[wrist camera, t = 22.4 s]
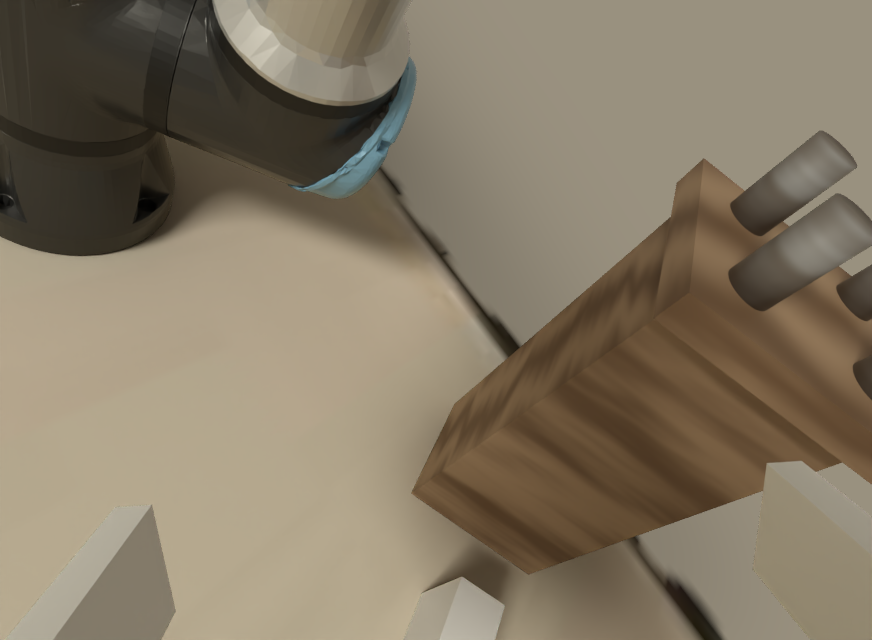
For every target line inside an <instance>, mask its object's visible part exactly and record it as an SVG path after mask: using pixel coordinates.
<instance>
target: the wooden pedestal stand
mask: <svg viewBox="0 0 872 640" xmlns="http://www.w3.org/2000/svg"><path fill="white" fill-rule="evenodd" d="M856 168H857V164H856V162H855V160H854V158H853V157H852V156H851V155H850V153H849V152H848V151H847V150H846V149H845V148H844V147H843V146H842V145H841V144H840V143H839V142H838V141H837V140H836V139H834V138H833V137H832V136H830V135H829V134H827V133H826V132H824V131H819V132H817V133H816V134H815V135H814V136H812V137H811V138H810V139H809V140H807V141H806V142H805V143H804V144H803V145H801V146H800V147H799V148H797V149H796V150H795V151H794V152H793V153H791V154H790V155H789V156H788V157H786V158H785V159H784V160H783V161H781V162H780V163H779V164H778V165H777V166H775V167H774V168H773V169H772V170H770V171H769V172H768V173H767V174H766V175H764V176H763V177H762V178H760V179H759V180H758V181H757V182H756V183H754V184H753V185H752V186H751V187H749V188H748V189H747V190H746V191H744V190H743V189H742V188H740V187H739V186H738V185H737V184H735V183H734V182H733V181H732V180H730V179H729V178H728V177H727V176H725V175H724V174H723V173H722V172H720V171H719V170H718V169H717V168H715V167H714V166H713V165H712V164H710V163H709V162H708V161H707V160H705V159H703V160H702V161H701V162H699V163H698V164H697V165H696V166H695V167H694V168H693V169H692V170H691V171H690V172H688V173H687V174H686V175H685V176H684V177H683V178H682V179H681V180H680V181H679V182H677V185H676V191H675V197H674V202H673V208H672V214H671V217H670V218H669V219H668V220H667V221H666V222H664V223H663V224H662V225H661V226H660V227H658V228H657V229H656V230H655V231H654V232H653V233H652V234H650V235H649V236H648V237H647V238H646V239H645V240H644V241H642V242H641V243H640V244H639V245H638V246H637V247H636V248H634V249H633V250H632V251H631V252H630V253H628V254H627V255H626V256H625V257H624V258H623V259H622V260H620V261H619V262H618V263H617V264H616V265H615V266H614V267H612V268H611V269H610V270H609V271H608V272H607V273H605V274H604V275H603V276H602V277H601V278H600V279H599V280H597V281H596V282H595V283H594V284H593V285H592V286H590V288H588V289H587V290H586V291H585V292H584V293H582V294H581V295H580V296H579V297H578V298H577V299H575V300H574V301H573V302H572V303H571V304H570V305H569V306H567V307H566V308H565V309H564V310H563V311H562V312H560V313H559V314H558V315H557V316H556V317H555V318H554V319H552V320H551V321H550V322H549V323H548V324H547V325H545V326H544V327H543V328H542V329H541V330H540V331H539V332H537V333H536V334H535V335H534V336H533V337H532V338H531V339H529V340H528V341H527V342H526V343H525V344H524V345H522V346H521V347H520V348H519V349H518V350H517V351H515V352H514V353H513V354H512V355H511V356H510V357H509V358H507V359H506V360H505V361H504V362H503V363H502V364H500V365H499V366H498V367H497V368H496V369H495V370H494V371H492V372H491V373H490V374H489V375H488V376H487V377H485V378H484V379H483V380H482V381H481V382H480V383H479V384H477V385H476V386H475V387H474V388H473V389H472V390H470V391H469V392H468V393H467V394H466V395H465V396H464V397H462V398H461V399H460V400H459V401H458V402H457V403H455V404H454V406H453V408H452V410H451V413H450V415H449V417H448V419H447V421H446V423H445V425H444V427H443V429H442V431H441V433H440V435H439V437H438V439H437V441H436V443H435V445H434V447H433V450H432V452H431V454H430V456H429V458H428V460H427V462H426V464H425V466H424V468H423V470H422V472H421V474H420V476H419V478H418V480H417V482H416V484H415V486H414V489H413V491H412V494H413V495H415V496H416V497H417V498H419V499H420V500H422V501H423V502H425V503H426V504H428V505H429V506H430V507H432V508H433V509H435V510H436V511H438V512H439V513H441V514H442V515H443V516H445V517H446V518H448V519H449V520H451V521H452V522H454V523H455V524H456V525H458V526H459V527H461V528H462V529H464V530H465V531H467V532H468V533H469V534H471V535H472V536H474V537H475V538H477V539H478V540H480V541H481V542H483V543H484V544H485V545H487V546H488V547H490V548H491V549H493V550H494V551H496V552H497V553H498V554H500V555H501V556H503V557H504V558H506V559H507V560H509V561H510V562H511V563H513V564H514V565H516V566H517V567H519V568H520V569H522V570H523V571H524V572H526V573H527V574H531V573H534V572H536V571H539V570H542V569H545V568H548V567H550V566H553V565H556V564H559V563H562V562H564V561H567V560H570V559H573V558H576V557H578V556H581V555H584V554H587V553H590V552H593V551H595V550H598V549H601V548H604V547H607V546H609V545H612V544H615V543H618V542H621V541H623V540H626V539H629V538H632V537H635V536H637V535H640V534H643V533H646V532H649V531H651V530H654V529H657V528H660V527H662V526H665V525H668V524H671V523H674V522H677V521H679V520H682V519H685V518H688V517H691V516H693V515H696V514H699V513H702V512H704V511H707V510H710V509H713V508H716V507H718V506H721V505H724V504H727V503H730V502H733V501H735V500H738V499H741V498H744V497H747V496H749V495H752V494H755V493H758V492H761V491H763V488H764V480H765V473H766V465H767V463H777V462H792V461H802V462H804V463H805V464H806V465H807V466H809V467H810V468H811V469H813V470H814V471H815V472H817V471H819V470H822V469H825V468H828V467H830V466H833V465H836V464H839V463H842V462H843V463H844V464H845V465H847V466H848V467H849V468H851V469H852V470H853V471H855V472H856V473H857V474H859V475H860V476H861V477H863V478H864V479H865V480H866V481H868V482H869V483H870V484H872V265H870V266H869V267H867V268H865V269H864V270H862V271H860V272H859V273H857V274H855V275H853V276H850V275H849V274H848V273H847V272H845V271H844V270H843V269H842V268H840V267H839V265H841V264H843V263H844V262H846V261H848V260H849V259H851V258H852V257H854V256H856V255H857V254H859V253H860V252H862V251H864V250H866V249H867V248H869V247H870V246H872V221H871V220H870V218H869V217H868V216H867V215H866V214H865V213H864V212H863V211H862V210H861V209H860V208H859V207H858V206H857V205H856V204H855V203H854V202H852V201H851V200H850V199H848V198H847V197H845V196H844V195H841V194H835V195H834V196H832V197H831V198H829V199H828V200H826V201H825V202H824V203H822V204H821V205H819V206H818V207H816V208H815V209H814V210H812V211H811V212H810V213H808V214H807V215H806V216H804V217H802V218H801V219H800V220H798V221H797V222H796V223H794V224H793V225H791V226H790V227H789V226H788V225H787V224H785V223H784V222H783V221H784V220H785V219H786V218H788V217H789V216H791V215H792V214H793V213H795V212H796V211H797V210H799V209H800V208H802V207H803V206H804V205H806V204H807V203H809V202H810V201H811V200H813V199H814V198H815V197H817V196H818V195H820V194H821V193H822V192H824V191H825V190H827V189H828V188H829V187H831V186H832V185H833V184H835V183H836V182H838V181H839V180H840V179H842V178H843V177H844V176H846V175H847V174H849V173H850V172H851V171H853V170H854V169H856Z"/></svg>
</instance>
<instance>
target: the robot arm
mask: <svg viewBox="0 0 872 640" xmlns="http://www.w3.org/2000/svg"><path fill="white" fill-rule="evenodd" d="M411 2H412V0H0V236H1V237H3V238H5V239H7V240H10V241H12V242H14V243H17V244H20V245H22V246H26V247H29V248H32V249H36V250H40V251H45V252H50V253H57V254H66V255H93V254H102V253H108V252H113V251H117V250H121V249H124V248H127V247H130V246H132V245H135V244H137V243H139V242H141V241H143V240H144V239H146V238H147V237H149V236H150V235H152V234H153V233H154V232H155V231H156V230H157V229H158V228H159V227H160V226H161V225H162V224H163V222H164V221H165V219H166V218H167V216H168V214H169V211H170V208H171V203H172V198H173V193H174V185H175V180H174V171H173V166H172V163H171V159H170V156H169V152H168V149H167V145H166V142H165V138H164V135H167V136H169V137H172V138H174V139H177V140H179V141H182V142H184V143H187V144H189V145H192V146H194V147H197V148H199V149H202V150H205V151H207V152H210V153H212V154H215V155H217V156H220V157H222V158H225V159H227V160H230V161H232V162H235V163H238V164H240V165H242V166H245V167H247V168H250V169H252V170H255V171H257V172H259V173H262V174H264V175H267V176H269V177H272V178H274V179H276V180H279V181H281V182H284V183H286V184H288V185H289V186H290V187H292V188H294V189H296V190H299V191H310V192H313V193H316V194H319V195H322V196H325V197H328V198H332V199H342V198H346V197H349V196H351V195H353V194H355V193H356V192H358V191H359V190H360V189H361V188H362V187H363V186H365V185H366V184H367V183H368V181H369V180H370V179H371V178H372V177H373V176H374V174H375V173H376V172H377V170H378V169H379V168H380V166H381V165H382V163H383V162H384V160H385V158H386V156H387V152H388V148H389V146H390V145H391V144H392V143H394V142H395V140H396V138H397V136H398V135H399V133H400V131H401V128H402V126H403V124H404V122H405V119H406V117H407V114H408V111H409V108H410V105H411V102H412V99H413V95H414V90H415V86H416V67H415V64H414V62H413V61H412V59H411V58H410V57H409V51H410V50H409V48H410V41H409V32H408V28H407V24H406V21H405V18H404V15H405V13H406V11H407V9H408V7H409V6H410V4H411ZM163 134H164V135H163ZM753 570H754V572H755V573H756V574H757V575H758V576H759V577H760V579H761V580H762V581H763V583H764V584H765V585H766V586H767V587H768V589H769V590H770V591H771V592H772V594H773V595H774V596H775V597H776V598H777V600H778V601H779V602H780V603H781V605H782V606H783V607H784V608H785V610H786V611H787V612H788V613H789V614H790V616H791V617H792V618H793V619H794V621H795V622H796V623H797V624H798V625H799V627H800V628H801V629H802V630H803V632H804V633H805V634H806V635H807V636H808V638H809V639H810V640H872V516H870V515H869V514H868V513H867V512H865V511H864V510H863V509H862V508H860V507H859V506H858V505H857V504H855V503H854V502H852V500H850V499H849V498H848V497H846V496H845V495H844V494H843V493H841V492H840V491H839V490H838V489H836V488H835V487H834V486H833V485H831V484H830V483H829V482H827V481H826V480H825V479H824V478H823V477H821V476H820V475H819V474H817V473H816V472H815V471H814V470H813V469H811V468H810V467H809V466H807V465H806V464H805V463H804V462H802V461H792V462H777V463H767V465H766V473H765V480H764V488H763V496H762V503H761V511H760V519H759V525H758V533H757V541H756V548H755V556H754V563H753ZM175 611H176V610H175V606H174V601H173V597H172V592H171V588H170V584H169V579H168V575H167V570H166V566H165V561H164V557H163V552H162V548H161V543H160V539H159V534H158V530H157V526H156V521H155V517H154V512H153V508H152V505H140V506H125V507H115V508H114V509H113V510H112V511H111V512H110V514H109V515H108V516H107V517H106V518H105V520H104V521H103V522H102V523H101V524H100V526H99V527H98V528H97V529H96V530H95V532H94V533H93V534H92V535H91V537H90V538H89V539H88V540H87V541H86V543H85V544H84V545H83V546H82V547H81V549H80V550H79V551H78V552H77V553H76V555H75V556H74V557H73V558H72V559H71V561H70V562H69V563H68V564H67V565H66V567H65V568H64V569H63V570H62V571H61V573H60V574H59V575H58V576H57V577H56V579H55V580H54V581H53V582H52V583H51V585H50V586H49V587H48V588H47V589H46V591H45V592H44V593H43V594H42V595H41V597H40V598H39V599H38V600H37V602H36V603H35V604H34V605H33V606H32V608H31V609H30V610H29V611H28V612H27V614H26V615H25V616H24V617H23V618H22V620H21V621H20V622H19V623H18V624H17V626H16V627H15V628H14V629H13V630H12V632H11V633H10V634H9V635H8V636H7V638H6V639H5V640H161V639H162V637H163V635H164V633H165V631H166V629H167V627H168V625H169V623H170V621H171V619H172V617H173V615H174V613H175Z"/></svg>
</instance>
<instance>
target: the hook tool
mask: <svg viewBox="0 0 872 640" xmlns="http://www.w3.org/2000/svg"><path fill="white" fill-rule="evenodd" d="M504 607H505V605H504V604H502V603H501V602H499V601H498V600H496V599H495V598H493V597H492V596H490V595H489V594H487V593H486V592H484V591H483V590H481V589H480V588H478V587H477V586H475V585H474V584H472V583H471V582H469V581H468V580H466V579H465V578H463V577H460V578H457V579H455V580H452V581H450V582H447V583H445V584H443V585H440V586H438V587H435V588H433V589H431V590H428V591H426V592H423V593H422V594H421V597H420V599H419V602H418V604H417V607H416V609H415V612H414V614H413V617H412V619H411V622H410V624H409V627H408V629H407V632H406V634H405V637H404V639H403V640H495V638H496V635H497V631H498V628H499V625H500V621H501V618H502V614H503V611H504Z"/></svg>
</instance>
